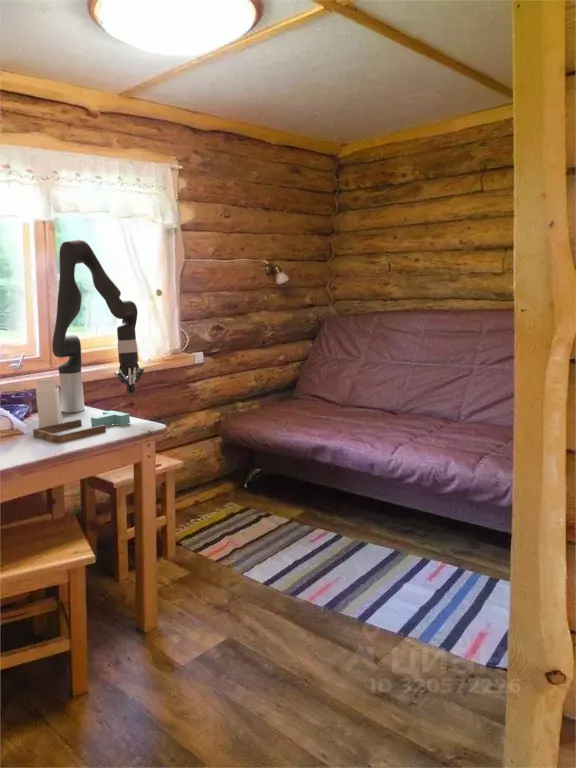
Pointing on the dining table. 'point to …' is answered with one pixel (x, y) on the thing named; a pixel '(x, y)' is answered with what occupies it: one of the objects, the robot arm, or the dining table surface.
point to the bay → (49, 435)
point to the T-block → (110, 418)
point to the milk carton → (48, 402)
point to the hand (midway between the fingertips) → (131, 393)
